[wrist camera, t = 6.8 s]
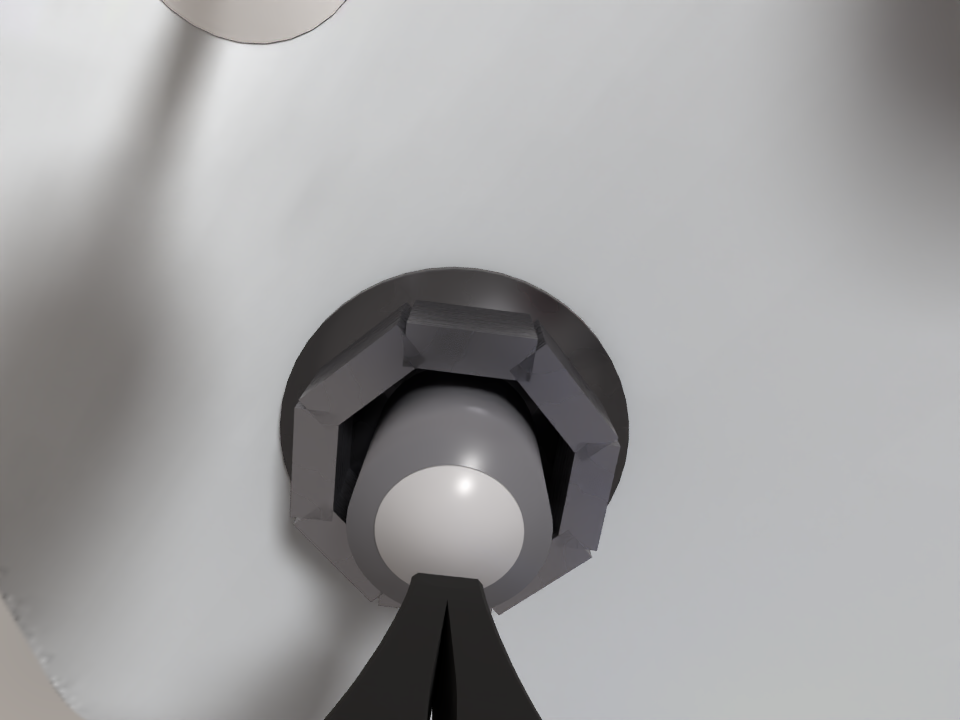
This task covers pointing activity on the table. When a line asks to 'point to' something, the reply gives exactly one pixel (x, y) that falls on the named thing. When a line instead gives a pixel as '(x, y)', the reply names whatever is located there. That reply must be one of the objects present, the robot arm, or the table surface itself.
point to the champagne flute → (255, 17)
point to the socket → (466, 350)
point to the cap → (452, 488)
